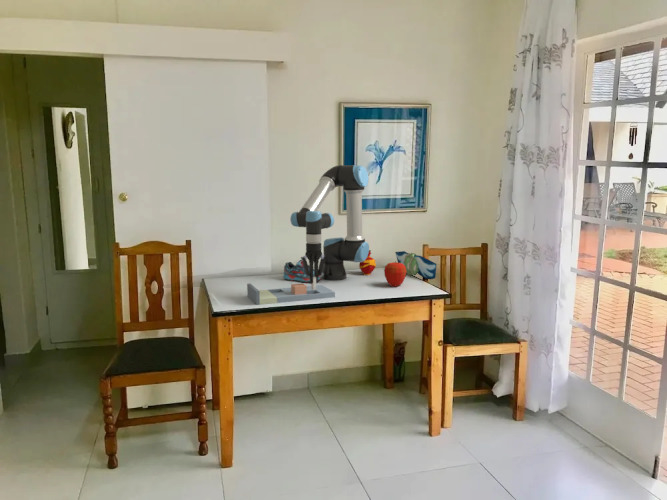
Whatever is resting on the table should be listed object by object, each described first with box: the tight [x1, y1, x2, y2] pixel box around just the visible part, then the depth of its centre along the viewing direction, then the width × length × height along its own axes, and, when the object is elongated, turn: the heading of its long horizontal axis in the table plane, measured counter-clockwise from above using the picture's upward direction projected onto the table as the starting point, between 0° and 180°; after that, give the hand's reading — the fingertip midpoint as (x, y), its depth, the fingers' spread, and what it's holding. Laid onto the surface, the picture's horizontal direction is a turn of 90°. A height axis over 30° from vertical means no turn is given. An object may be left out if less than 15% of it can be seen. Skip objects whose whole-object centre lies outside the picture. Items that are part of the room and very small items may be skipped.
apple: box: [383, 260, 407, 288], centre depth 290 cm, size 12×12×14 cm
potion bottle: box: [358, 249, 377, 276], centre depth 319 cm, size 10×10×15 cm
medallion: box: [394, 250, 437, 280], centre depth 317 cm, size 45×5×14 cm, turn 24°
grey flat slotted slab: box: [246, 282, 336, 306], centre depth 266 cm, size 40×18×6 cm, turn 113°
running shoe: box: [282, 259, 324, 284], centre depth 302 cm, size 10×25×12 cm, turn 68°
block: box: [290, 282, 308, 295], centre depth 264 cm, size 6×6×4 cm
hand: (313, 289), depth 265 cm, fingers closed
